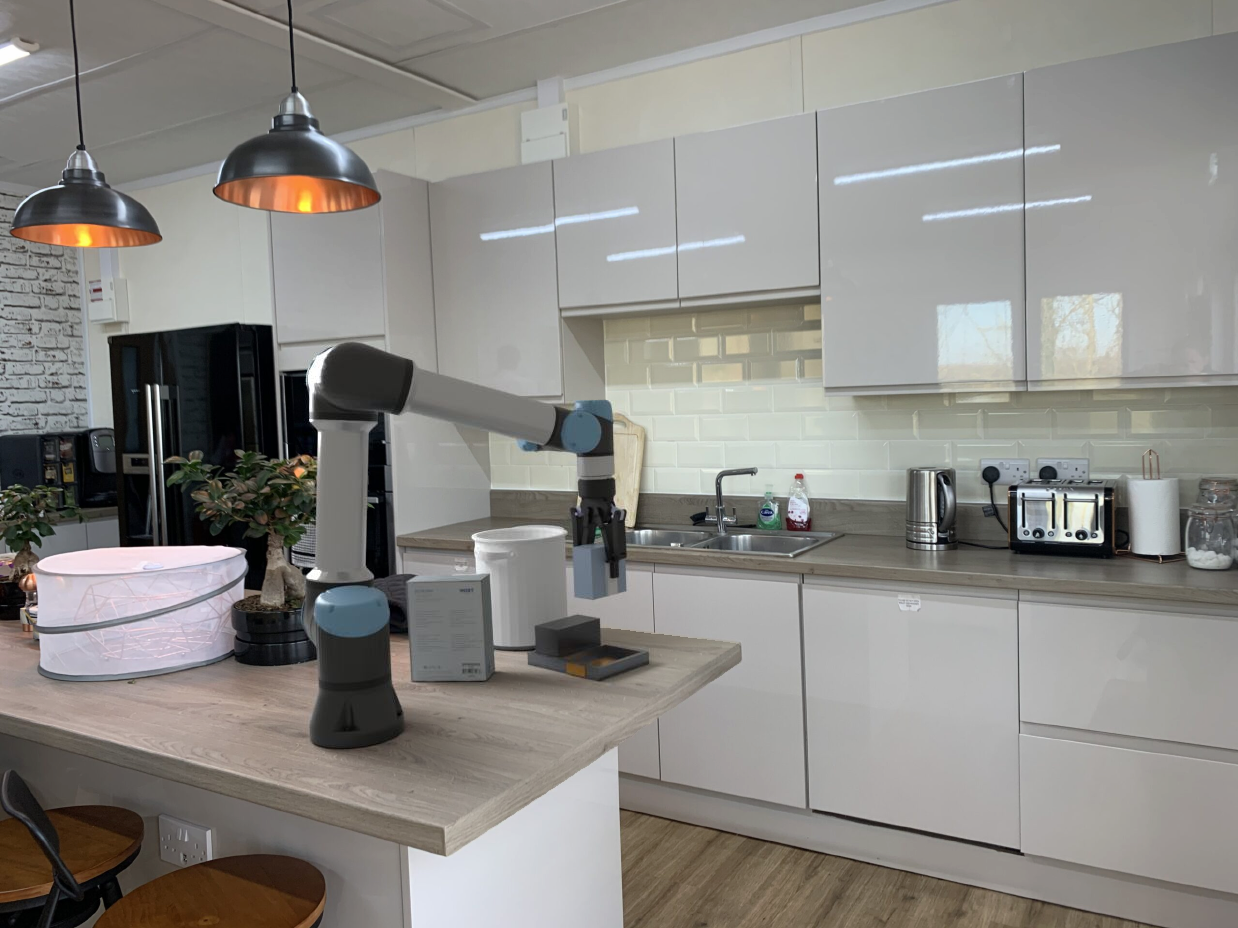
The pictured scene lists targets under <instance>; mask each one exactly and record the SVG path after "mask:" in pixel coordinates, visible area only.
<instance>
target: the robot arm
mask: <svg viewBox="0 0 1238 928" xmlns="http://www.w3.org/2000/svg"><path fill="white" fill-rule="evenodd" d="M305 377H306V378H305V382H306V383H305V385H306V387H307V388H306V389H307V392H308V395H309V423H310V424H311V425H312V426H313V427H314V428H315V429H316V430H317V463H316V465H317V467H316V473H317V474H316V507H315V508H316V511H315V512H316V515H315V554H314V555H315V559H314V561H315V562H314V567H313V569H311V570H310V572H308V573H307V574H306V575H305V593H304V594H305V598H304V601H303V603H302V608H301V610H300V620H301V625H302V628H303V630H304V632H305V634H306V636H307V637H308V639H309V640H310V641H311V642H312V643H313V645H314V647H315V648H316V658H317V659H316V663H317V678H318V691H317V695H316V700H315V703H314V708H313V711H312V715H311V718H310V721H309V728H308V729H309V739H310V741H311V742H312V743H314V744H315V745H318V746H319V747H324V748H332V749H348V748H349V749H350V748H360V747H361V748H362V747H366V746H371V745H375V744H380V743H382V742H386V741H388V740H390V739H393V738H395V737H397V736H398V735H400V734H401V733H403V731H404V730H405V727H406V724H405V722H406V721H405V712H404V710H403V707H402V705H401V702H400V699H399V697H398V694H397V692H396V690H395V687H394V685H393V679H392V676H393V675H392V656H391V636H390V635H391V632H390V615H391V613H390V612H391V611H390V608H389V607H390V606H389V601H388V598H387V595H386V594H385V593H384V591H382V590H380V589H378V588H375V576H374V574H373V572H372V571H371V570H369V568H367V565H366V558H367V557H366V556H367V555H366V554H367V553H366V552H367V551H366V550H367V518H368V517H367V516H368V515H367V513H368V512H367V511H368V474H369V473H368V469H369V433H370V432H371V430H373V428H375V427H376V426H377V425H378V419H379V418H378V417H379V413H385V414H390V415H394V416H402V415H404V414H406V413H411V414H414V415H415V414H416V415H418V416H419V415H420V416H423V417H427V418H432V419H435V420H440V421H444V422H447V423H451V424H455V425H459V426H463V427H468V428H472V429H475V430H479V431H484V432H486V433H492V434H495V435H499V436H503V437H507V438H510V439H511V438H512V439H516V442H517V445H518V447H519V448H520V450H521V451H523V452H526V453H528V452H530V453H531V452H535V453H538V452H560V453H561V452H562V453H571V454H576V456H575V457H576V463H577V464H576V472H577V473H576V474H577V477H580V478H579V479H578V480H577V491H578V492H577V493H578V494H577V495H578V497H579V498H580V503H579V505H578V506H573V507H570V508H569V514H570V515H571V516H570V517H571V519H572V520H571V521H572V547H577V546H582V545H587V544H592V543H595V540H596V534H597V528H598V529H599V530H600V533H601V537H602V541H603V543H604V547H605V551H606V556H607V561H605V586H606V595H608V596H607V597H610V596H614V595H617V594H616V593H618V587H617V578H618V577H619V561H620V560H622V559H624V558H625V559H626V558H627V555H628V554H627V553H628V551H627V534H626V533H627V532H626V530H627V529H626V519H627V515H628V511H627V509H626V508H623V509H621V508H618V507H616V503H615V500H614V499H615V496H616V494H617V489H616V479H615V477H613V476H614V475H615V473H616V469H615V467H616V466H615V451H614V450H615V449H614V448H615V447H614V445H615V443H614V423H615V422H614V415H613V414H614V413H613V407H612V403H611V402H610V401H609V400H607V399H591V400H590V399H589V400H588V399H587V400H576V401H575V403H574V404H573V405H574V406H573V410H572V409H568V408H564V407H561V406H557V405H553V404H550V403H547V402H544V401H539V400H535V399H533V398H532V399H531V398H529V397H525V396H520V395H517V394H514V393H510V392H507V391H503V390H500V389H496V388H493V387H488V386H485V385H482V384H477V383H473V382H469V381H467V380H463V379H459V378H456V377H452V376H448V375H445V374H441V373H437V372H433V371H432V370H431V371H430V370H426V369H423V368H419V367H418V366H417V364H416V362H415V361H414V359H410V358H406V357H402V356H399V355H397V354H393V353H390V352H387V351H385V350H383V349H380V348H378V347H374V346H371V345H369V344H366V343H363V342H358V341H346V342H342V343H339V344H335V345H333V346H330V347H327V348H325V349H324V350H322V351H320V352H319V353H318V354H316V356H315V357H314V358H313V359H312V360H311V363H310V365H309V366H308V369H307V372H306V376H305ZM613 594H614V595H613ZM618 594H619V593H618ZM609 595H610V596H609Z"/></svg>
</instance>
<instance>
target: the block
mask: <svg viewBox="0 0 1238 928" xmlns="http://www.w3.org/2000/svg"><path fill="white" fill-rule="evenodd" d="M605 561H607V556H606V551H605V547H604V543H603V540H602V541H598V542H594V543H592V544H587V545H582V546H577V547H573V546H572V567H573V570H572V571H573V593H574V597H573V598H575V599H576V598H577V599H583V600H591V601H595V600H598V599H602V598H605V597H606V598H607V597H610V596H611V595H609V596H608V595H606V586H605ZM626 566H627V565H626V558H624V559H622V560H620V561H619V577H618V578H617V587H618V593H616V594H613V595H612V596H614V595H619V594H621V593H625V592H627V569H626Z"/></svg>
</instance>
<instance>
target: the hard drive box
mask: <svg viewBox="0 0 1238 928" xmlns="http://www.w3.org/2000/svg"><path fill="white" fill-rule="evenodd" d="M405 595H406V611H407V613H406V614H407V629H408V631H407V632H408V644H409V645H408V646H409V647H408V648H409V659H410V660H409V663H410V665H409V666H410V681H411V682H454V681H455V682H475V681H476V682H479V681H482V682H484V681H487V680H488V679H490V677H491V676H492V675H493V673H494V672H495V671H496V662H495V649H494V642H493V622H492V602H491V585H490V574H489V573H487V574H476V573H453V574H449V573H448V574H429V575H415V576H413V578H410V579H409V580H407V581H405Z"/></svg>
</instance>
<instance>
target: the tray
mask: <svg viewBox="0 0 1238 928" xmlns="http://www.w3.org/2000/svg"><path fill="white" fill-rule="evenodd" d="M601 639H602V637H601V617H595V616H590V615H583V614H578V613H577V614H573V615H570V616H568V617H566V618H562V619H558V620H555V621H551V622H547V623H543V624H540V625H536V626H535V647H536V649H533V650H532V651H527V665H528V666H533V667H537V668H541V669H544V670H545V669H546V670H549V671H554V672H558V673H562V674H567V675H570V676H575V677H579V678H584V679H588V680H591V681H597V682H601V681H605V680H606V679H607V680H608V679H609V678H613V677H615V676H619V675H620V674H624V673H627V672H629V671H632V670H635V669H638V668H640V667H643V666H647V665H649V664H650V653H649V651H648V650H643V649H638V648H633V647H627V646H623V645H617V644H612V643H608V642H602V641H601Z"/></svg>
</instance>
